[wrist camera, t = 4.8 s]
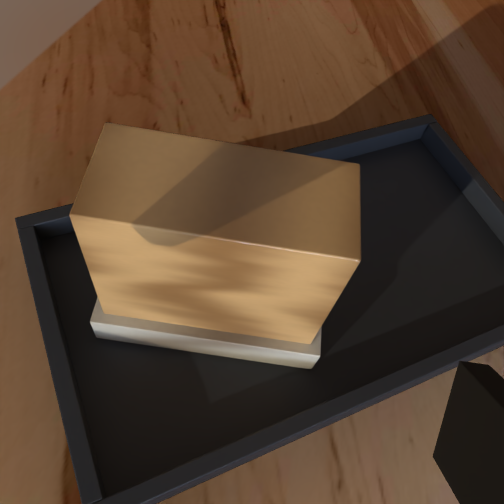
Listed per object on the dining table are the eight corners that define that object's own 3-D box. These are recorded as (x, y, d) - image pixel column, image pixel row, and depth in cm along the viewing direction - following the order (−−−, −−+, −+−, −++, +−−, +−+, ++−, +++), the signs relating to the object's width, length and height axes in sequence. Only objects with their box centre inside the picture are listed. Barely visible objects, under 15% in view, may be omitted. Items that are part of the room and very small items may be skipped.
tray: (26, 241, 28) (14, 217, 26) (417, 136, 36) (431, 113, 34) (96, 530, 21) (87, 528, 19) (560, 319, 29) (587, 302, 27)
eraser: (96, 338, 24) (47, 224, 16) (123, 246, 27) (95, 109, 19) (311, 369, 25) (376, 276, 16) (315, 276, 28) (372, 155, 19)
